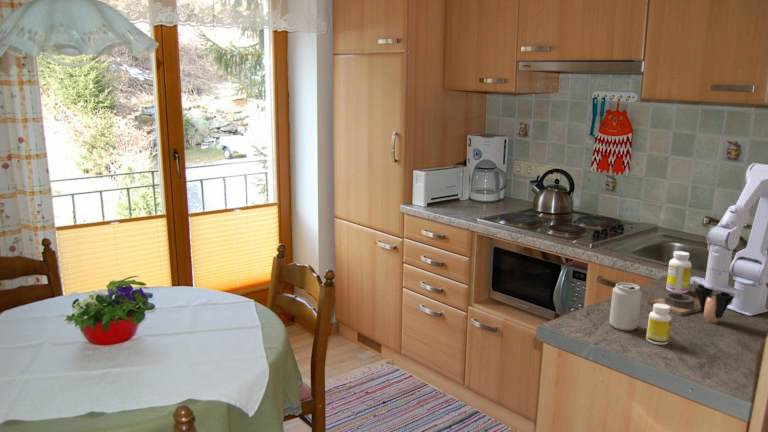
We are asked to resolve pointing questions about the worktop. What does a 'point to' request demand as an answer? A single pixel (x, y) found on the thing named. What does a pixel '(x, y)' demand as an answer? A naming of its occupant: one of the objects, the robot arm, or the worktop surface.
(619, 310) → the can
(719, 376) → the worktop surface
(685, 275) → the supplement bottle
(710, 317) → the peach rounded peg
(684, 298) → the octagonal holder plate
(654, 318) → the supplement bottle
